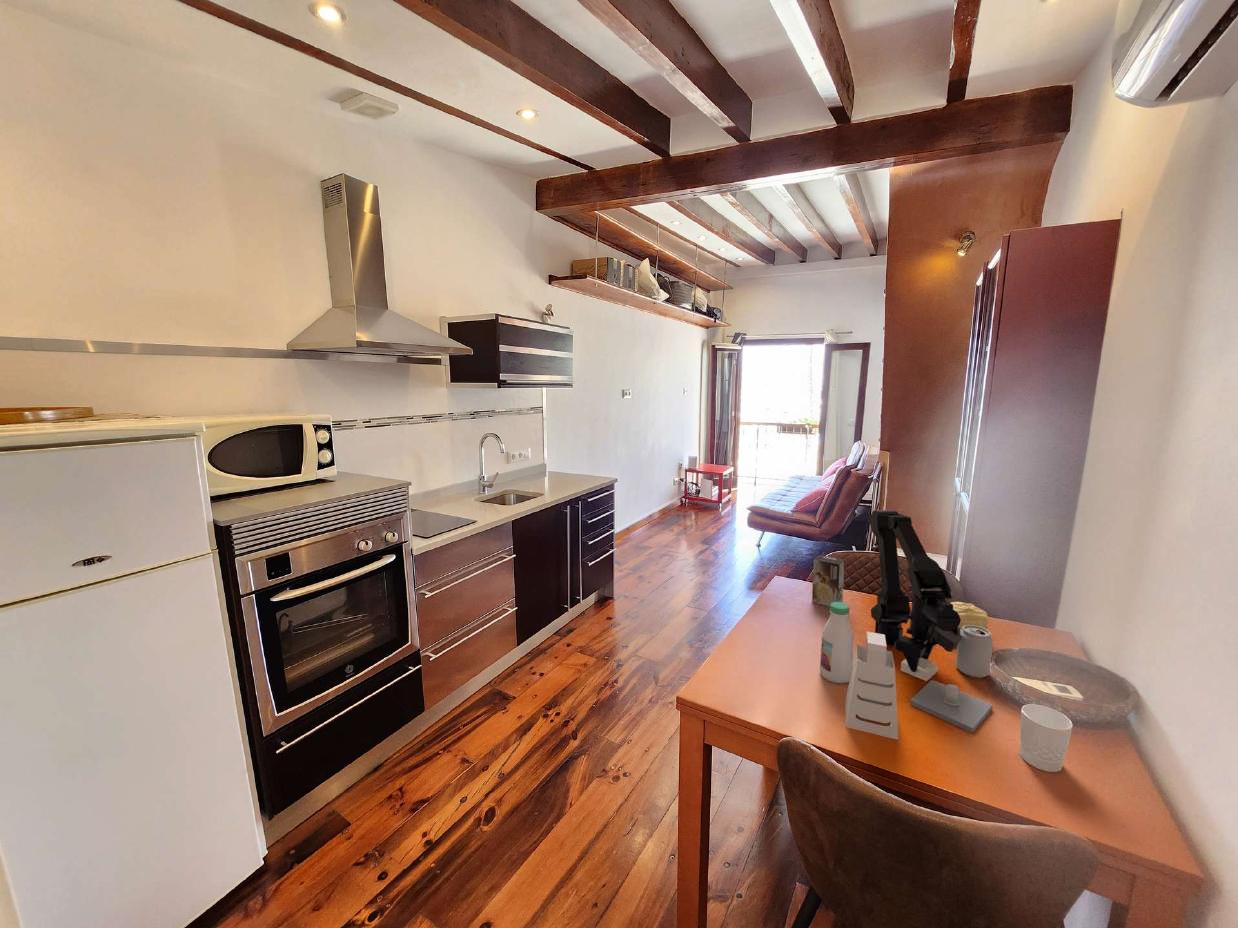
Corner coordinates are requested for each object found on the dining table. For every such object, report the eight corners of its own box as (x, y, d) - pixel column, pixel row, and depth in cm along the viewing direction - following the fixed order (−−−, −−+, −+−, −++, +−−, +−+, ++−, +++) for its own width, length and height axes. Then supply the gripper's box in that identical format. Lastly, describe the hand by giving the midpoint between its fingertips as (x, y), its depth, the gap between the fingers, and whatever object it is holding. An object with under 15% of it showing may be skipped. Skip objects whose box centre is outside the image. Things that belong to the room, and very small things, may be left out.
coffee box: (843, 602, 176) (846, 559, 174) (837, 609, 171) (840, 564, 169) (817, 596, 182) (819, 553, 180) (810, 602, 177) (813, 558, 175)
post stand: (909, 704, 121) (911, 684, 120) (931, 683, 129) (933, 665, 128) (972, 733, 111) (974, 711, 110) (992, 709, 119) (994, 689, 118)
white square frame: (900, 670, 135) (901, 661, 135) (910, 662, 139) (911, 653, 138) (926, 681, 130) (927, 672, 130) (936, 672, 134) (937, 663, 134)
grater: (894, 710, 119) (900, 632, 115) (898, 739, 109) (905, 654, 106) (845, 700, 123) (850, 624, 120) (845, 726, 113) (851, 645, 110)
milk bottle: (851, 671, 135) (856, 601, 132) (851, 687, 128) (856, 613, 125) (820, 665, 138) (824, 596, 135) (818, 680, 131) (822, 608, 128)
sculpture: (950, 645, 148) (953, 610, 146) (930, 625, 159) (933, 593, 158) (992, 647, 146) (996, 612, 144) (968, 627, 158) (972, 595, 156)
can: (995, 680, 130) (1000, 637, 128) (963, 677, 131) (967, 635, 129) (980, 665, 137) (985, 624, 135) (950, 662, 139) (954, 621, 137)
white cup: (1006, 747, 106) (1011, 705, 105) (1040, 745, 107) (1046, 702, 105) (1040, 776, 99) (1046, 730, 97) (1076, 773, 99) (1083, 728, 98)
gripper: (944, 635, 120) (938, 694, 122) (972, 612, 131) (966, 667, 134) (895, 618, 128) (891, 674, 131) (925, 598, 140) (920, 650, 142)
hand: (918, 667), depth 134 cm, fingers closed on white square frame, 6 cm apart
